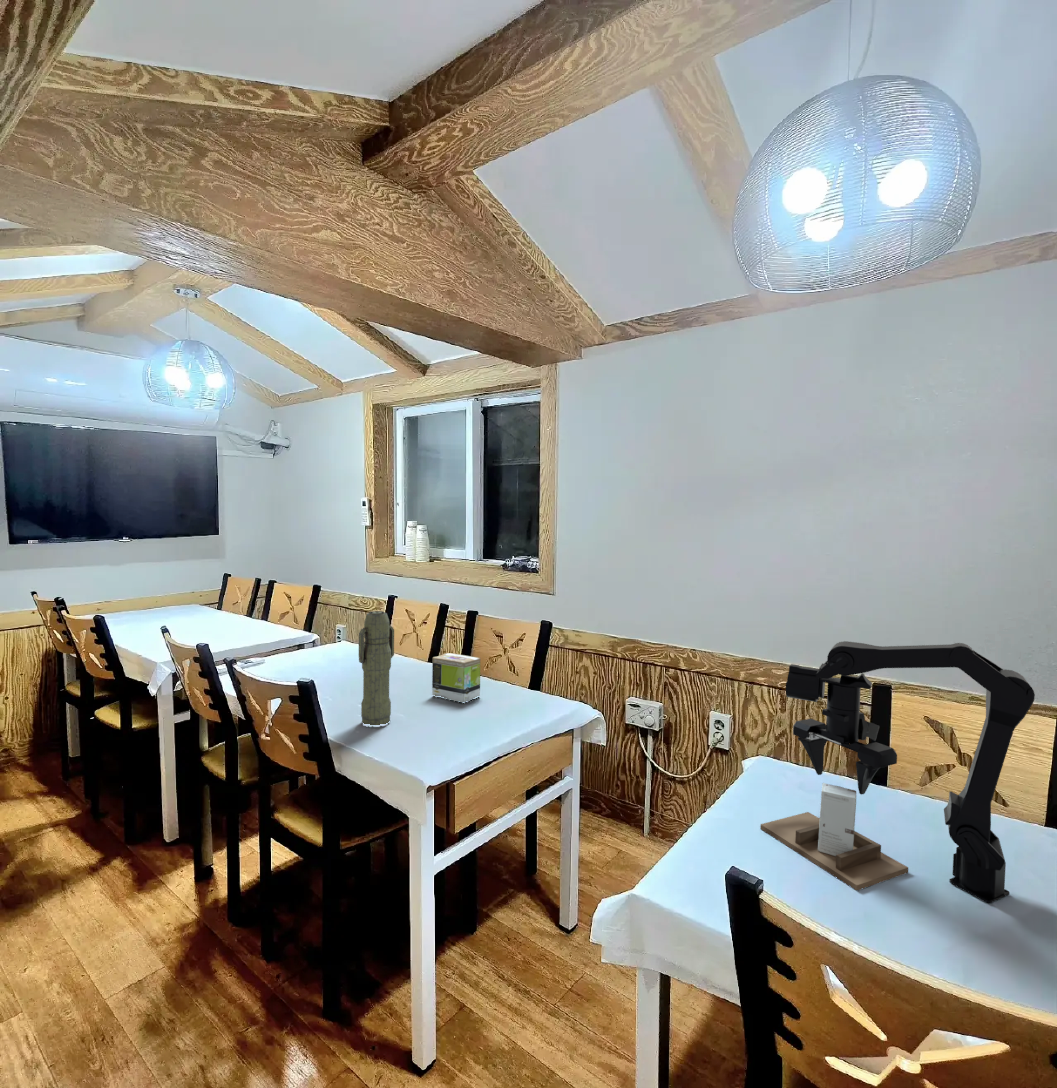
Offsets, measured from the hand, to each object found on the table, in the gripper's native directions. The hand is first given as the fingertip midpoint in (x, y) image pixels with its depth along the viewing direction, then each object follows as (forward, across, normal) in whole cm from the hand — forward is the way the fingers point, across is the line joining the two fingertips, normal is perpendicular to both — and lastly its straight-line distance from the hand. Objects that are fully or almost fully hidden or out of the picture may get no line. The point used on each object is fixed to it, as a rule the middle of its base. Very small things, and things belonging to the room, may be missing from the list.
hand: (840, 783), depth 114 cm
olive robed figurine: (+13, +106, +71) cm, 129 cm away
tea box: (+13, +122, +40) cm, 129 cm away
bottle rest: (+13, 0, +2) cm, 13 cm away
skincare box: (+12, -2, +3) cm, 13 cm away
